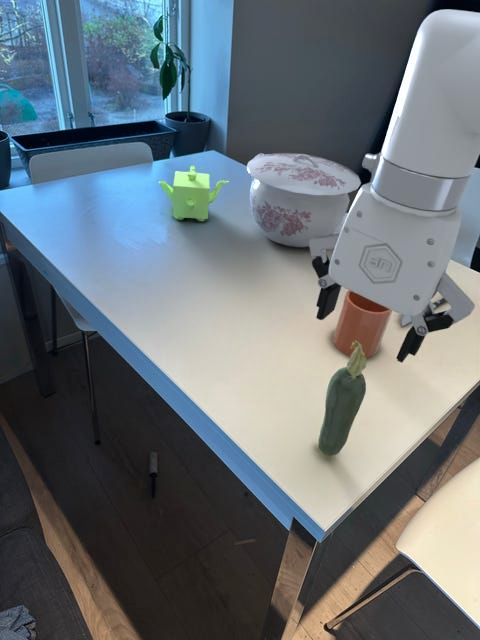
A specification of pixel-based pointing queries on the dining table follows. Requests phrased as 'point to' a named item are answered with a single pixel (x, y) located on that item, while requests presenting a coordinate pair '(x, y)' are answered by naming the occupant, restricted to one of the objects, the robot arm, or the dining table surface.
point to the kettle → (191, 194)
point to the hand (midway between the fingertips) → (362, 334)
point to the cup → (361, 324)
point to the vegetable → (343, 402)
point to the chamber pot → (298, 196)
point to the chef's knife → (407, 318)
